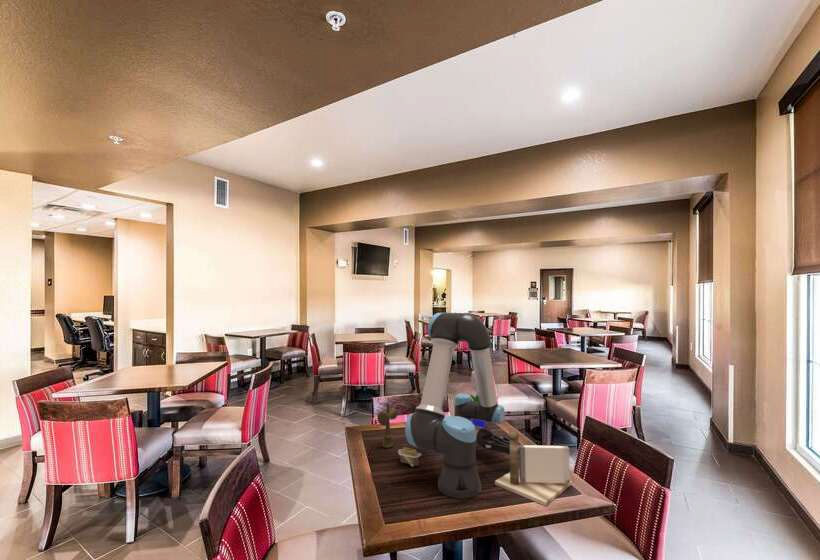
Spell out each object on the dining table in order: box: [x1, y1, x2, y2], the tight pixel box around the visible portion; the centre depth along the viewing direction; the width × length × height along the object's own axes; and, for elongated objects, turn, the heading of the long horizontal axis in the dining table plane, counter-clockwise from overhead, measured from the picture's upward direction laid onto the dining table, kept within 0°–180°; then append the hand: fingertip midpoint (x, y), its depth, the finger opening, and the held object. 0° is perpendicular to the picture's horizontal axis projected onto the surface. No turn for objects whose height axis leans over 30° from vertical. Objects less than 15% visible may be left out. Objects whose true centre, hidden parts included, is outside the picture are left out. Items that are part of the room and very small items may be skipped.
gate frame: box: [494, 430, 573, 507], centre depth 132 cm, size 20×19×19 cm
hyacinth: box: [468, 370, 487, 429], centre depth 190 cm, size 9×10×30 cm
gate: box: [519, 444, 571, 483], centre depth 130 cm, size 17×2×12 cm, turn 87°
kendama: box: [376, 401, 398, 449], centre depth 166 cm, size 6×10×20 cm, turn 156°
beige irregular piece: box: [397, 446, 422, 467], centre depth 148 cm, size 12×18×7 cm, turn 65°
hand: (531, 454), depth 138 cm, fingers closed
